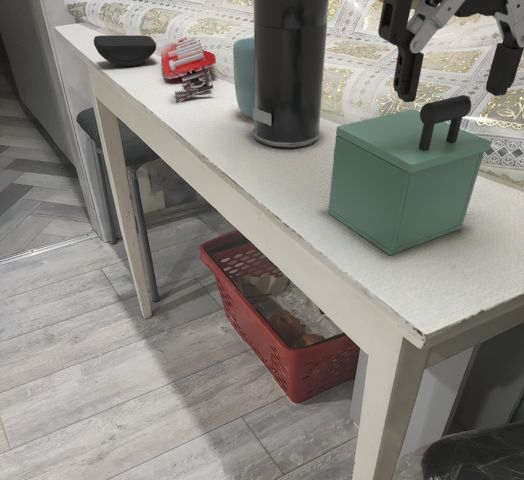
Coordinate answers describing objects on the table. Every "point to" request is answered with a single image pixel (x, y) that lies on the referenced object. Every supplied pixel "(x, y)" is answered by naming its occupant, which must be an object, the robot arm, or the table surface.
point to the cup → (244, 75)
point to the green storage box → (399, 197)
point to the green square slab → (418, 135)
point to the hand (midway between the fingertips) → (451, 96)
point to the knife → (202, 78)
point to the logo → (187, 65)
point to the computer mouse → (125, 49)
